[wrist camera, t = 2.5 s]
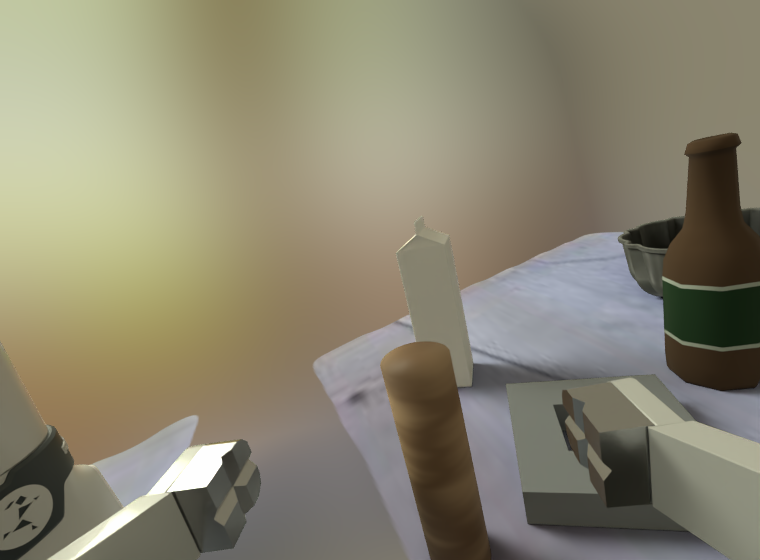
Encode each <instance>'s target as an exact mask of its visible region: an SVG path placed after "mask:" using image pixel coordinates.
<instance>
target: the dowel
mask: <svg viewBox="0 0 760 560" xmlns="http://www.w3.org/2000/svg"><path fill="white" fill-rule="evenodd" d="M380 366H381V370H382V374H383V378H384V382H385V386H386V390H387V394H388V397H389V401H390V405H391V409H392V413H393V417H394V420H395V424H396V428H397V432H398V436H399V440H400V443H401V447H402V451H403V455H404V459H405V463H406V466H407V470H408V474H409V478H410V482H411V486H412V489H413V493H414V497H415V501H416V505H417V509H418V512H419V516H420V520H421V524H422V528H423V532H424V536H425V539H426V543H427V547H428V551H429V555H430V559H431V560H491V550H490V545H489V540H488V535H487V530H486V526H485V521H484V516H483V511H482V506H481V501H480V496H479V491H478V486H477V482H476V477H475V472H474V467H473V462H472V457H471V452H470V447H469V442H468V438H467V433H466V428H465V423H464V418H463V413H462V408H461V403H460V398H459V394H458V389H457V384H456V379H455V374H454V369H453V364H452V359H451V354H450V350H449V349H448V348H447V347H446V346H445V345H443V344H441V343H437V342H431V341H422V342H414V343H410V344H406V345H403V346H400V347H398V348H396V349H394V350H392V351H391V352H389V353H388V354H387V355H385V356H384V358H383V359H382V361H381V364H380Z"/></svg>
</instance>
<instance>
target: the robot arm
mask: <svg viewBox="0 0 760 560" xmlns="http://www.w3.org/2000/svg"><path fill="white" fill-rule="evenodd" d="M562 402H563V406H564V408H565V409H566V411H567V412H568V414H569V416H568V417H567V419H566V420H565V425H566V431H567V436H568V439H569V442H570V446H571V448H572V450H573V452H574V455H575V456H576V458H577V460H578V462H579V463H580V465H582V466H584V467H585V468H587V469H589V476H590V481H591V483H592V485H593V486H594V488H595V490H596V491H597V493H598V494H599V496H600V498H601V499H602V501H603V502H604V504H605V506H606V507H607V508H611V507H623V506H636V505H648V504H653V507H654V508H656V509H657V510H659V511H660V512H662V513H663V514H665V515H666V516H668V517H669V518H670V519H672V520H673V521H675V522H676V523H678V524H679V525H681V526H682V527H684V528H685V529H687V530H688V531H689V532H691V533H692V534H694V535H695V536H697V537H698V538H700V539H701V540H703V541H704V542H706V543H707V544H708V545H710V546H711V547H713V548H714V549H716V550H717V551H719V552H720V553H722V554H723V555H725V556H726V557H727V558H729V559H730V560H760V444H759V443H756V442H753V441H750V440H748V439H745V438H742V437H739V436H736V435H733V434H730V433H728V432H725V431H722V430H719V429H716V428H713V427H710V426H707V425H705V424H702V423H699V422H696V421H687V422H685V421H684V420H683V419H682V418H681V417H679V416H678V415H677V414H676V413H675V412H674V411H672V410H671V409H670V408H669V407H668V406H666V405H665V404H664V403H663V402H662V401H661V400H659V399H658V398H657V397H656V396H655V395H654V394H652V393H651V392H650V391H649V390H648V389H647V388H645V387H644V386H643V385H642V384H641V383H639V382H638V381H637V380H636V379H634V378H631V377H630V378H624V379H619V380H614V381H608V382H606V383H600V384H594V385H588V386H582V387H576V388H570V389H564V390H562ZM250 454H251V449H250V447H249V445H248V443H247V441H245V440H242V439H239V440H231V441H224V442H217V443H210V444H202V445H196V446H192V447H189V448H187V449H186V450H185V451H184V452H183V453H182V454H181V456H180V457H179V458H178V459H177V460H176V461H175V463H174V464H173V465H172V466H171V467H170V469H169V470H168V471H167V472H166V473H165V474H164V476H163V477H162V478H161V479H160V480H159V481H158V483H157V484H156V485H155V486H154V487H153V488H152V490H151V491H150V492H149V493H148V494H147V495H146V496H141V497H139V498H138V499H136V500H135V501H133V502H132V503H130V504H129V505H127V506H126V507H123V506H122V504H121V503H120V501H119V499H118V498H117V496H116V495H115V493H114V492H113V490H112V489H111V487H110V486H109V484H108V483H107V481H106V480H105V479H104V477H103V476H102V474H101V473H100V471H99V470H98V469H97V468H96V467H95V466H94V465H74V460H73V457H72V456H71V454H70V452H69V450H68V445H67V443H66V441H65V440H64V438H63V437H61V436H60V435H59V433H58V431H57V430H56V428H55V427H54V426H51V425H45V423H44V421H43V419H42V417H41V415H40V413H39V412H38V410H37V408H36V406H35V404H34V402H33V401H32V399H31V397H30V395H29V393H28V391H27V389H26V388H25V386H24V384H23V382H22V380H21V379H20V377H19V375H18V373H17V371H16V369H15V367H14V366H13V364H12V362H11V360H10V358H9V357H8V355H7V353H6V351H5V349H4V347H3V345H2V344H1V342H0V560H196V559H198V558H199V557H200V555H201V554H200V553H205V552H212V551H218V550H226V549H233V548H234V547H235V544H236V542H237V540H238V538H239V536H240V534H241V532H242V530H243V528H244V526H245V524H246V518H245V514H246V513H247V512H248V511H249V510H250V509H251V508H252V507H253V506H254V505H255V503H256V501H257V499H258V496H259V492H260V486H261V479H260V473H259V470H258V467H257V465H255V464H254V463H253V462H251V461H250V460H249V457H250Z"/></svg>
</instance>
